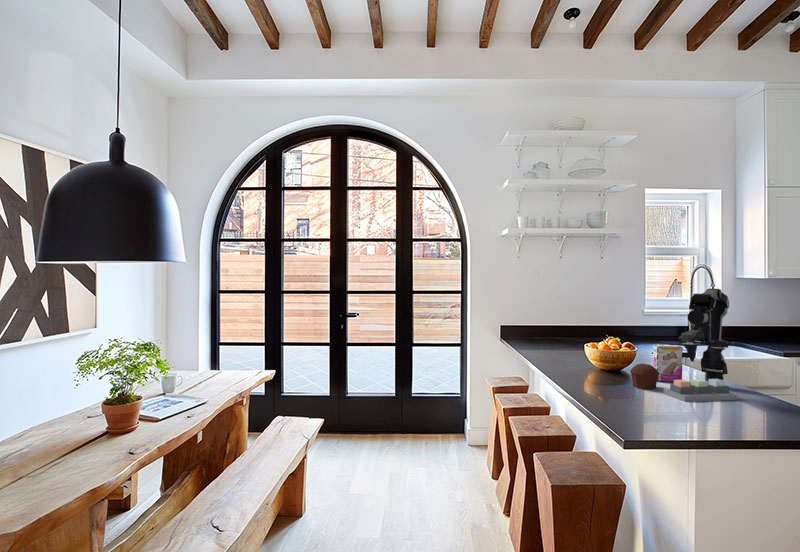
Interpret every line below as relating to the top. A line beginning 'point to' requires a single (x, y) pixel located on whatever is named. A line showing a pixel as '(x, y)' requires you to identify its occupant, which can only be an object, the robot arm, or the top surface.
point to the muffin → (644, 376)
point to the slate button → (716, 382)
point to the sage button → (699, 383)
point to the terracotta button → (681, 383)
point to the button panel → (700, 393)
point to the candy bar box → (668, 362)
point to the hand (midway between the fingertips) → (701, 363)
